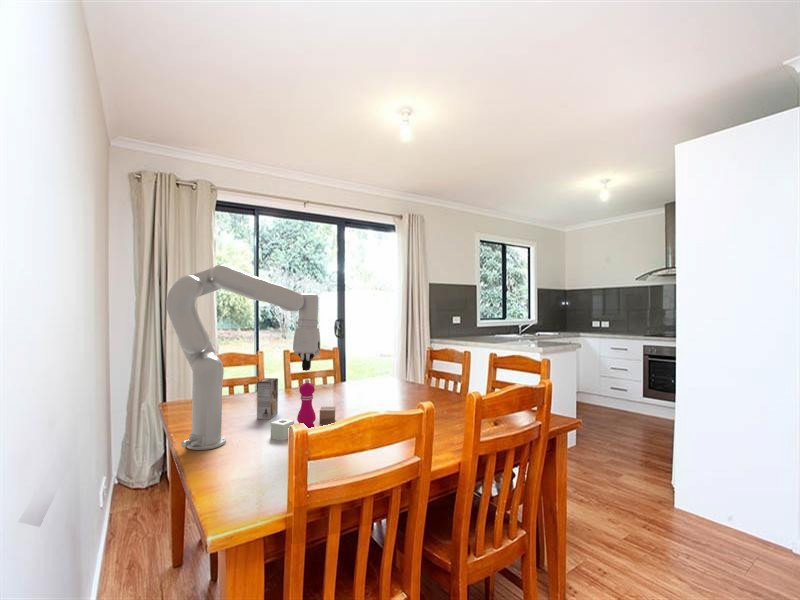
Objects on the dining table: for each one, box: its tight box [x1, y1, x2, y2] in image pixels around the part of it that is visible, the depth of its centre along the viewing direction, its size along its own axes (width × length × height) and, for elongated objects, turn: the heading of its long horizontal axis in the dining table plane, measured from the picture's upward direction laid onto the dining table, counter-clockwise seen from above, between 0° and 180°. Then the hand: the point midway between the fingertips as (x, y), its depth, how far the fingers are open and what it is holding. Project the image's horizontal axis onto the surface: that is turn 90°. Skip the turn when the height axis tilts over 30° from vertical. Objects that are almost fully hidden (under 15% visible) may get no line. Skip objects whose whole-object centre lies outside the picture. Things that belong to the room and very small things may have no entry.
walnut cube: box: [318, 406, 336, 426], centre depth 169 cm, size 6×6×6 cm
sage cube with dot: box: [270, 418, 295, 441], centre depth 150 cm, size 6×6×6 cm
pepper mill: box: [296, 378, 317, 428], centre depth 160 cm, size 7×7×20 cm
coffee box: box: [256, 377, 279, 420], centre depth 177 cm, size 9×6×16 cm
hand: (306, 370), depth 160 cm, fingers closed
